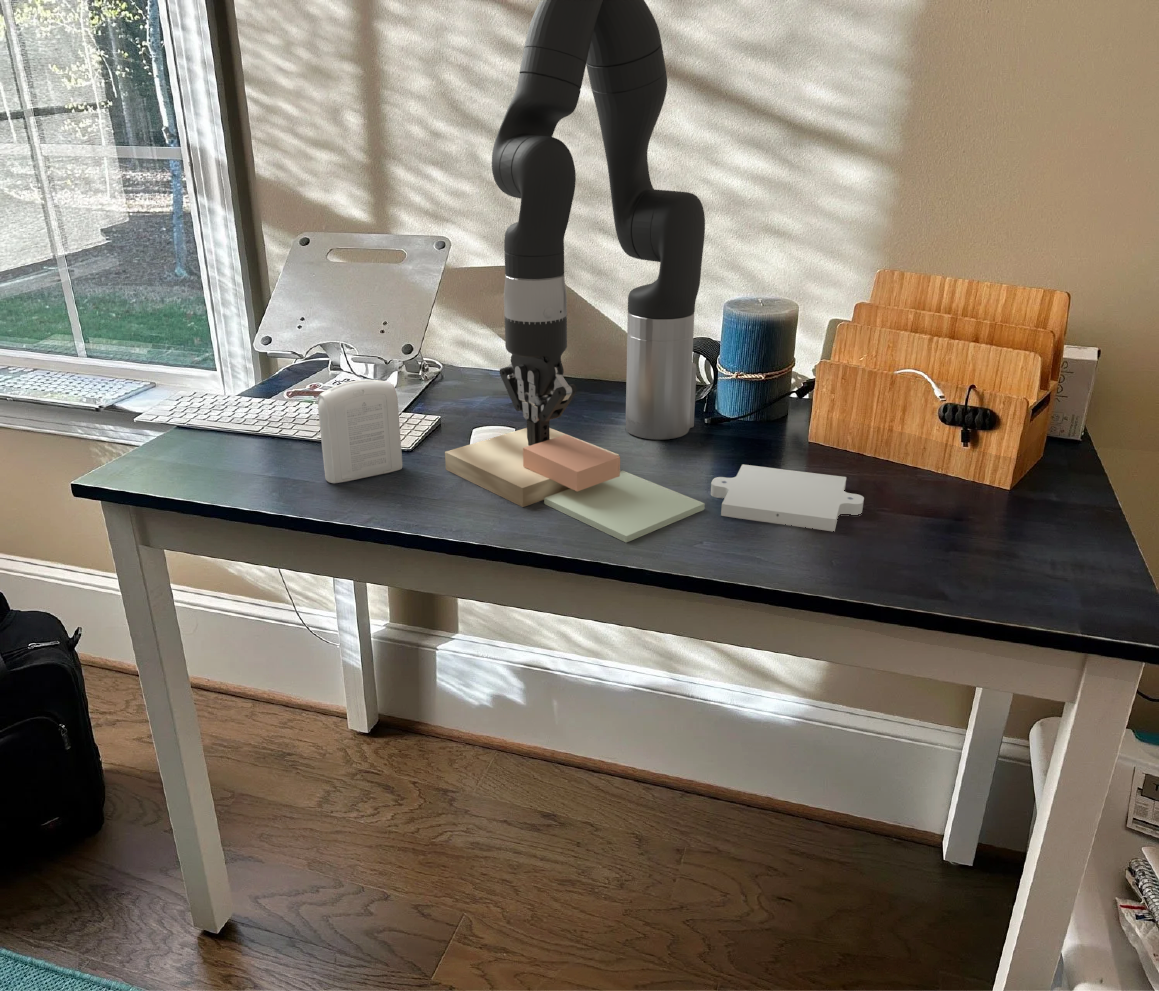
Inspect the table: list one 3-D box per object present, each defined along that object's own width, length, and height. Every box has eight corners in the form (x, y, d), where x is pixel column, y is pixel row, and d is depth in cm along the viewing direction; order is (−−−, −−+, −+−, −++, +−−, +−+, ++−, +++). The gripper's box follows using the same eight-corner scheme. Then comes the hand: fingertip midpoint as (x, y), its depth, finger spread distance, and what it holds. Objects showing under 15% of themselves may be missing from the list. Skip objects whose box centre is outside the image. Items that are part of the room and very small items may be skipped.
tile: (565, 452, 123) (565, 434, 122) (619, 476, 116) (620, 457, 115) (523, 466, 119) (523, 447, 118) (577, 491, 112) (577, 471, 111)
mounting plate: (699, 515, 112) (700, 501, 112) (722, 475, 124) (723, 462, 123) (857, 538, 107) (859, 522, 106) (865, 493, 118) (867, 479, 117)
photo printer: (395, 460, 128) (387, 371, 123) (408, 470, 124) (401, 379, 119) (320, 476, 123) (309, 384, 118) (332, 487, 119) (321, 393, 114)
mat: (621, 475, 122) (621, 470, 122) (704, 509, 113) (704, 503, 113) (544, 503, 115) (544, 497, 114) (626, 542, 105) (626, 536, 105)
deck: (539, 440, 134) (539, 423, 133) (619, 472, 123) (619, 454, 122) (445, 469, 125) (444, 451, 124) (522, 507, 114) (522, 488, 113)
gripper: (595, 316, 112) (594, 454, 119) (526, 298, 121) (529, 427, 128) (546, 327, 108) (548, 469, 115) (477, 307, 117) (483, 440, 124)
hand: (538, 446), depth 121 cm, fingers closed
